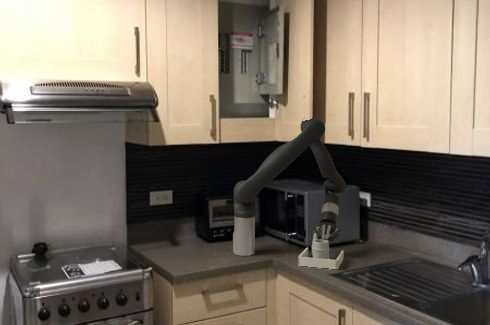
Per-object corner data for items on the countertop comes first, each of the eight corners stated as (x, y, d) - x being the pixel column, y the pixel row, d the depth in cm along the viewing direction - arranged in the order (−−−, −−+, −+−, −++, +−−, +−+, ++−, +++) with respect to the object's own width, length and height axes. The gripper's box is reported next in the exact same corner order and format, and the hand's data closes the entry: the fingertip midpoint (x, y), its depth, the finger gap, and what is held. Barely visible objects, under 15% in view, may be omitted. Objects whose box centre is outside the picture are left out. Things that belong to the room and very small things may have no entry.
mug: (316, 267, 226) (317, 238, 225) (304, 259, 237) (305, 232, 236) (333, 265, 228) (333, 237, 227) (320, 258, 239) (320, 231, 238)
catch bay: (306, 256, 242) (306, 247, 242) (343, 259, 237) (343, 250, 237) (297, 266, 227) (298, 256, 226) (337, 270, 221) (337, 260, 221)
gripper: (313, 209, 246) (307, 242, 235) (343, 211, 241) (338, 244, 231) (316, 218, 251) (310, 250, 241) (344, 220, 247) (340, 253, 236)
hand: (323, 247), depth 236 cm, fingers closed
